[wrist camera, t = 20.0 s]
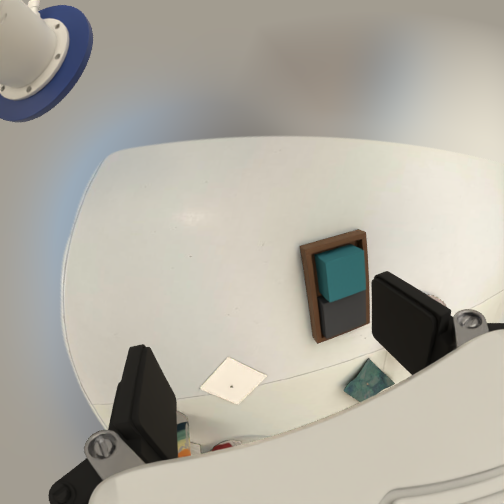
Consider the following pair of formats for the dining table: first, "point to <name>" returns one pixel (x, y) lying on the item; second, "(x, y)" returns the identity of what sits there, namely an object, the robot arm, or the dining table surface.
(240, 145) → the dining table surface
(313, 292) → the frame
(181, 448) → the grey striped bottle
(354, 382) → the terrain model
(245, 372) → the coaster
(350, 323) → the charcoal pad
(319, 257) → the teal block
